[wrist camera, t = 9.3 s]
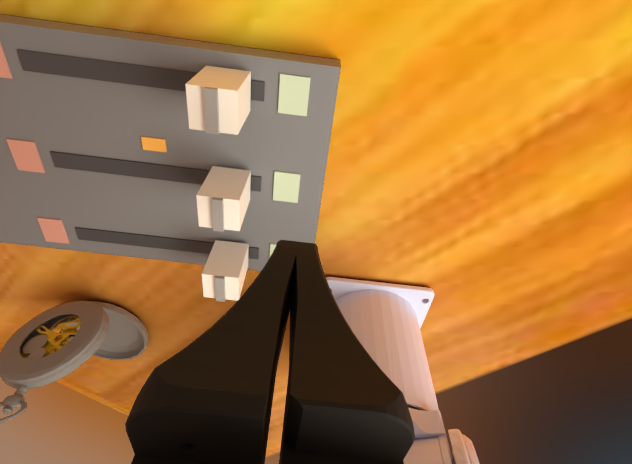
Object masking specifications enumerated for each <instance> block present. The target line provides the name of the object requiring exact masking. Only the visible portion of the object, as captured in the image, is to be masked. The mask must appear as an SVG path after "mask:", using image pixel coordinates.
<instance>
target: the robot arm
mask: <svg viewBox="0 0 632 464" xmlns="http://www.w3.org/2000/svg"><path fill="white" fill-rule="evenodd" d="M330 288H331V289H330ZM426 298H427V299H426ZM433 298H434V291H433V289H431V288H427V287H418V286H409V285H400V284H391V283H382V282H373V281H364V280H355V279H345V278H336V277H325V275H324V272H323V269H322V265H321V262H320V258H319V254H318V247H317V245H316V244H315V243H306V242H297V241H289V240H279V241H278V242H277V244H276V247H275V249H274V251H273V253H272V255H271V256H270V258H269V260H268V261H267V263H266V265H265V266H264V268H263V269H262V271H261V272H260V274H259V275H258V277H257V278H256V279H255V281H254V282H253V283H252V284H251V286H250V287H249V288H248V289H247V291H246V292H245V293H244V294H243V296H242V297H241V298H240V299H239V300H238V301H237V302H236V303H235V304H234V306H233V307H232V308H231V309H230V310H229V311H228V312H227V313H226V314H225V315H224V316H223V317H222V318H220V319H219V320H218V321H217V322H216V323H215V324H214V325H213V326H212V327H211V328H210V329H208V330H207V331H206V332H205V333H203V334H202V335H201V336H200V337H198V338H197V339H196V340H195V341H193V342H192V343H191V344H190V345H188V346H187V347H186V348H184V349H183V350H181V351H180V352H179V353H177V354H176V355H174V356H173V357H171V358H170V359H168V360H167V361H165V362H164V363H162V364H161V365H159V366H157V367H156V368H155V369H154V370H153V372H152V373H151V375H150V376H149V378H148V379H147V381H146V382H145V384H144V386H143V387H142V389H141V391H140V393H139V394H138V396H137V398H136V400H135V402H134V405H133V407H132V409H131V412H130V414H129V417H128V419H127V421H126V424H125V425H126V432H127V434H128V437H129V440H130V442H131V445H132V448H133V450H134V453H135V456H134V458H133V461H132V463H131V464H264V463H265V455H266V447H267V440H268V432H269V424H270V416H271V408H272V400H273V393H274V385H275V377H276V371H277V365H278V360H279V356H280V351H281V347H282V342H283V338H284V333H285V329H286V324H287V320H288V316H289V311H290V351H289V376H288V386H287V395H286V404H285V414H284V423H283V432H282V441H281V451H280V460H279V464H453V462H452V458H451V453H450V449H449V445H448V441H447V437H446V433H445V429H444V425H443V421H442V417H441V414H440V411H439V410H438V405H437V401H436V396H435V392H434V388H433V383H432V379H431V375H430V370H429V366H428V362H427V358H426V353H425V349H424V345H423V340H422V336H421V332H420V328H421V326H422V323H423V321H424V319H425V316H426V314H427V312H428V310H429V307H430V305H431V303H432V300H433ZM423 299H424V300H423ZM448 432H449V436H450V440H451V444H452V448H453V451H452V454H453V459H454V463H455V464H479V461H478V458H477V455H476V452H475V449H474V446H473V443H472V441H471V440H470V439H469V438H467V437H466V436H465V435H462V434H461V432H460V431H459V430H458V429H450V430H448Z"/></svg>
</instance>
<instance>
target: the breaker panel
mask: <svg viewBox="0 0 632 464" xmlns="http://www.w3.org/2000/svg"><path fill="white" fill-rule="evenodd" d="M206 65H207V66H214V67H222V68H229V69H237V70H245V71H251V100H250V112H249V114H248V116H247V118H246V120H245V122H244V124H243V126H242V128H241V130H240V132H239V133H238V135H234V134H226V133H219V134H210V133H206V131H202V130H194V129H189V120H188V108H187V97H186V85H185V84H186V83H187V82H188V81H189V80H191V79H192V78H193V77H194V76H195V75H196V74H197V73H198V72H200V71H201V70H202V69H203V68H204V67H205V66H206ZM340 68H341V65H340V60H337V59H330V58H322V57H315V56H307V55H300V54H293V53H285V52H278V51H270V50H263V49H255V48H248V47H241V46H233V45H226V44H218V43H211V42H203V41H196V40H188V39H181V38H174V37H166V36H159V35H151V34H144V33H136V32H129V31H122V30H114V29H107V28H99V27H92V26H84V25H77V24H70V23H62V22H55V21H47V20H40V19H32V18H25V17H18V16H10V15H3V14H0V242H3V243H12V244H21V245H30V246H39V247H48V248H57V249H66V250H75V251H84V252H93V253H102V254H111V255H121V256H130V257H139V258H148V259H157V260H166V261H175V262H184V263H193V264H202V265H206V262H207V260H208V257H209V255H210V252H211V250H212V248H213V245H214V243H215V240H219V241H227V242H236V243H245V244H249V247H248V269H247V270H256V271H262V269H263V268H264V266H265V265H266V263H267V261H268V260H269V258H270V256H271V255H272V253H273V251H274V249H275V247H276V244H277V242H278V241H279V240H289V241H297V242H306V243H315V238H316V232H317V225H318V218H319V211H320V204H321V198H322V191H323V184H324V177H325V170H326V164H327V157H328V150H329V143H330V136H331V130H332V123H333V116H334V109H335V102H336V96H337V89H338V82H339V75H340ZM212 166H217V167H226V168H234V169H242V170H250V171H251V183H250V202H249V205H248V208H247V211H246V214H245V217H244V220H243V223H242V226H241V229H240V231H234V230H225V229H224V232H220V231H213V228H207V227H199V222H198V210H197V198H196V195H197V193H198V191H199V190H200V188H201V186H202V184H203V182H204V181H205V179H206V177H207V175H208V174H209V172H210V170H211V168H212Z"/></svg>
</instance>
